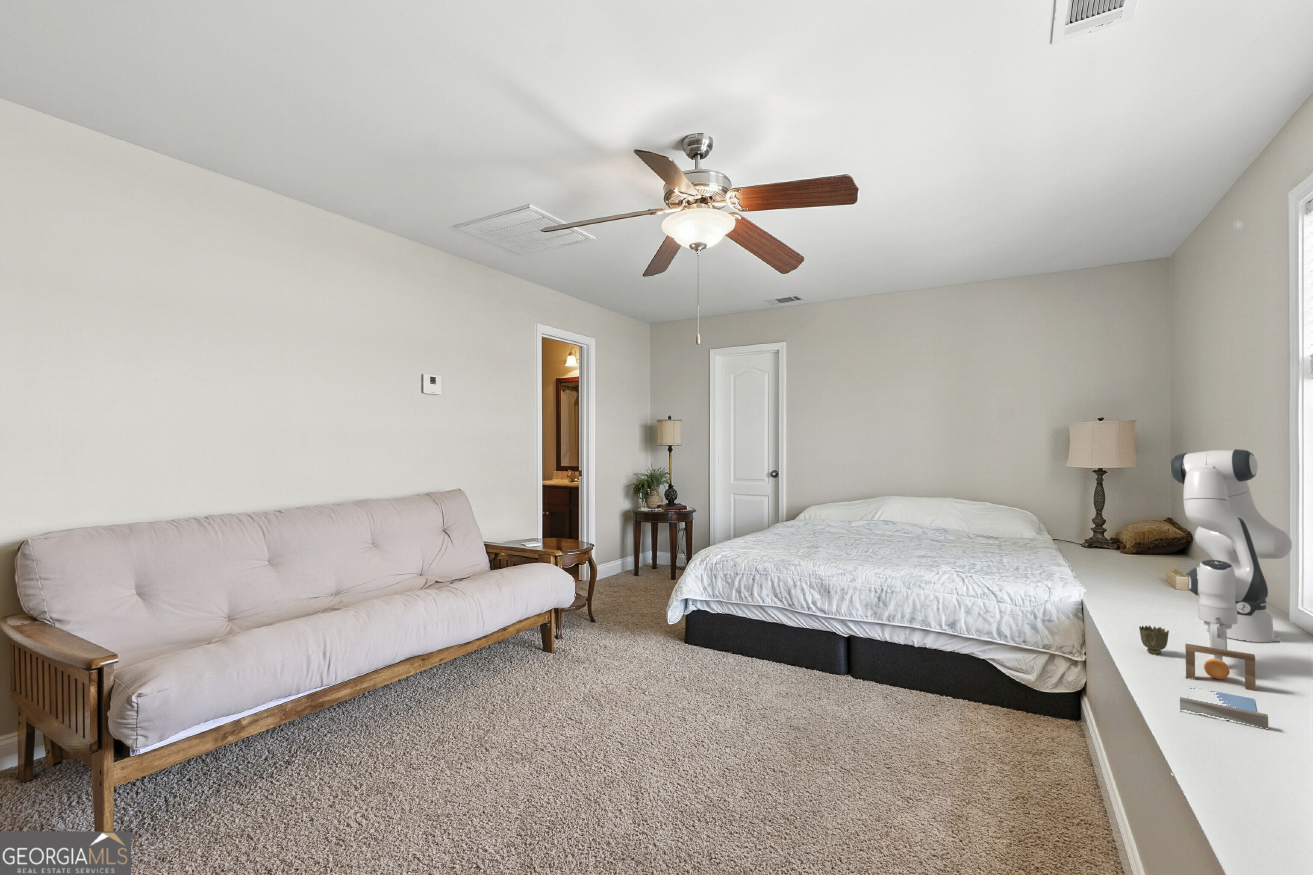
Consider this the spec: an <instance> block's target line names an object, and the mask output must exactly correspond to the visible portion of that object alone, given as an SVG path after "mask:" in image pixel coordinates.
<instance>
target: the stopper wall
mask: <svg viewBox="0 0 1313 875" xmlns="http://www.w3.org/2000/svg"><path fill="white" fill-rule="evenodd" d="M1180 710H1187V711H1191V712H1195V713H1204V714H1207V715H1210V716H1215V717H1219V718H1224V719H1229V720H1233V721H1236V722H1241V723H1245V724H1249V725H1254V726H1258V727H1262V728H1268V729H1269V716H1268V713H1262V712H1258V711H1256V712H1253V711H1248V710H1243V709H1238V708H1233V707H1228V706H1223V705H1218V704H1213V703H1208V702H1203V701H1198V700H1193V699H1189V697H1188V698H1187V697H1182V696H1180V697H1179V711H1180ZM1262 728H1261V729H1262Z"/></svg>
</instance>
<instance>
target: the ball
mask: <svg viewBox="0 0 1313 875" xmlns="http://www.w3.org/2000/svg"><path fill="white" fill-rule="evenodd" d="M1203 668H1204V672H1205V673H1206V674H1207V675H1208V676H1209V677H1211V678H1213V679H1216V680H1223V679H1226V678H1228V677H1229V675H1230V667H1229V666H1228V664H1227V663H1226V662H1225V661H1224V660H1223V661H1221V660H1219V659H1214V658H1209V659H1207V660H1206V661H1205V662H1204V665H1203Z"/></svg>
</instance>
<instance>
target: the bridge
mask: <svg viewBox="0 0 1313 875" xmlns="http://www.w3.org/2000/svg"><path fill="white" fill-rule="evenodd" d="M1184 648H1185V678H1186V679H1188V678H1193V679H1192V680H1194V679H1195V680H1196V657H1195V656H1196V653H1199V654H1207V655H1213V656H1214V655H1218V656H1223V657H1224V658H1231V659H1236V660H1242V661H1244V687H1245V690H1250V691H1254V692H1255V691H1256V690H1257V687H1256V684H1257V683H1256V656H1255V654H1254V653H1249V652H1242V651H1235V650H1229V649H1227V650H1224V649H1217V648H1211V647H1210V646H1204V645H1197V644H1190V643H1185V647H1184Z"/></svg>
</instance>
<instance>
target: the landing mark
mask: <svg viewBox="0 0 1313 875" xmlns="http://www.w3.org/2000/svg"><path fill="white" fill-rule="evenodd" d="M1195 688H1196V687H1195ZM1195 688H1193V689H1195ZM1198 688H1199V687H1198ZM1190 689H1192V688H1190ZM1199 689H1201V688H1199ZM1210 692H1217V693H1216V695H1219V696H1217V698H1219V701H1224V702H1223V703H1222V704H1227V705H1228V707H1234V708H1235V707H1236V708H1238V709H1243V710H1248V711H1253V712H1257V708H1256V704H1255V699H1254V698H1252V697H1246V696H1243V695H1235V694H1231V693H1228V692H1227V693H1226V692H1221V691H1215V690H1211V691H1210ZM1214 695H1215V694H1214ZM1220 698H1222V699H1220ZM1226 701H1227V702H1226ZM1229 704H1230V705H1229ZM1227 705H1226V706H1227Z"/></svg>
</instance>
